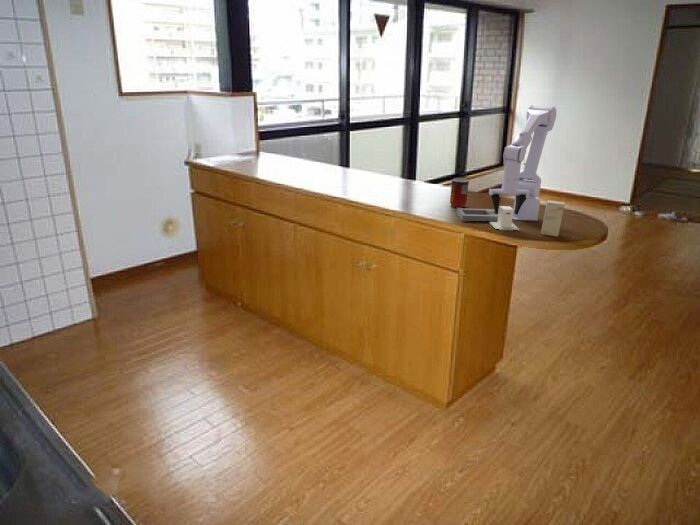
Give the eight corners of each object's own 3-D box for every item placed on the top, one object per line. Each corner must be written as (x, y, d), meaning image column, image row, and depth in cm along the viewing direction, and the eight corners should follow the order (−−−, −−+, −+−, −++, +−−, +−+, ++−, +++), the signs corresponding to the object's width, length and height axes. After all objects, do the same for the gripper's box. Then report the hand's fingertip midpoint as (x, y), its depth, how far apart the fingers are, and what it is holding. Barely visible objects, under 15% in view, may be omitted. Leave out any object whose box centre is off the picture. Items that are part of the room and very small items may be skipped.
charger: (507, 223, 199) (509, 206, 196) (511, 227, 194) (513, 209, 191) (497, 223, 198) (499, 206, 196) (500, 227, 194) (503, 209, 191)
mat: (512, 223, 201) (512, 222, 200) (519, 230, 192) (519, 229, 192) (489, 223, 200) (489, 221, 200) (495, 230, 192) (495, 228, 192)
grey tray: (502, 215, 212) (502, 208, 211) (509, 222, 202) (510, 215, 201) (456, 213, 212) (457, 206, 211) (461, 221, 202) (462, 214, 201)
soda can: (469, 206, 224) (472, 178, 219) (459, 209, 219) (462, 181, 215) (455, 203, 228) (458, 176, 224) (446, 206, 224) (448, 178, 219)
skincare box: (540, 234, 189) (546, 202, 184) (541, 231, 192) (546, 199, 188) (558, 236, 187) (564, 204, 182) (558, 233, 190) (564, 201, 186)
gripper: (494, 180, 186) (489, 216, 191) (534, 181, 186) (528, 217, 191) (489, 176, 192) (485, 211, 197) (527, 177, 192) (522, 211, 197)
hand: (505, 213), depth 195 cm, fingers open, 7 cm apart
